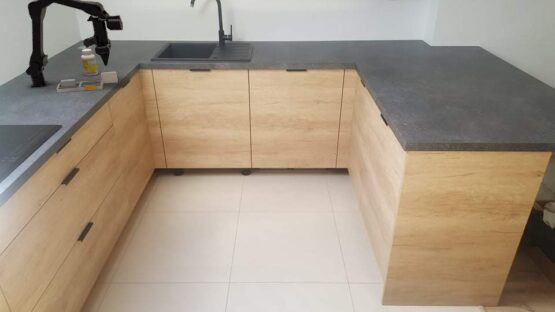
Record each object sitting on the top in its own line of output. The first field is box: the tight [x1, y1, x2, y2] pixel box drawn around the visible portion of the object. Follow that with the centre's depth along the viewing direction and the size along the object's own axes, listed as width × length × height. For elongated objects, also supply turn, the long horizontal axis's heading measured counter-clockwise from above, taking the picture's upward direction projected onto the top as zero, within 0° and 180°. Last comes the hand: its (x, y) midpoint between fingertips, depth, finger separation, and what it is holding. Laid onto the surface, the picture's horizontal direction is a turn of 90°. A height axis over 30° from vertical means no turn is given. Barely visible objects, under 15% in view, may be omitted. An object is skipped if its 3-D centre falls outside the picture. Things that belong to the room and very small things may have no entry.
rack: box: [56, 79, 105, 94], centre depth 195 cm, size 8×20×2 cm, turn 108°
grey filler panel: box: [60, 78, 77, 87], centre depth 194 cm, size 2×6×4 cm, turn 108°
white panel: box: [100, 71, 119, 84], centre depth 203 cm, size 2×7×5 cm, turn 108°
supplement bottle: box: [80, 48, 99, 77], centre depth 213 cm, size 7×7×13 cm
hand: (106, 63), depth 200 cm, fingers open, 9 cm apart
